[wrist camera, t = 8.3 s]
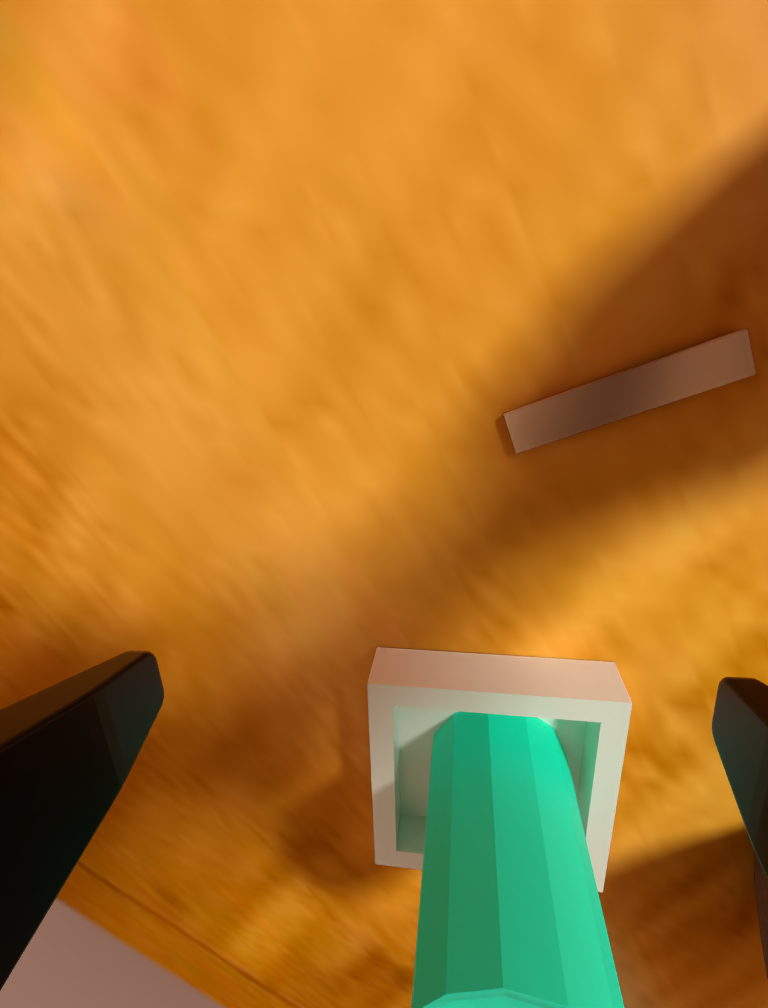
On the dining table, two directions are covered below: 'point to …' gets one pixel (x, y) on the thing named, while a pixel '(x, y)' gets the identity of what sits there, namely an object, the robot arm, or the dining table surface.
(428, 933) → the candle
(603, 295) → the dining table surface
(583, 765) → the white square tray
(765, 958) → the plant pot
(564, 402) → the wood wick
